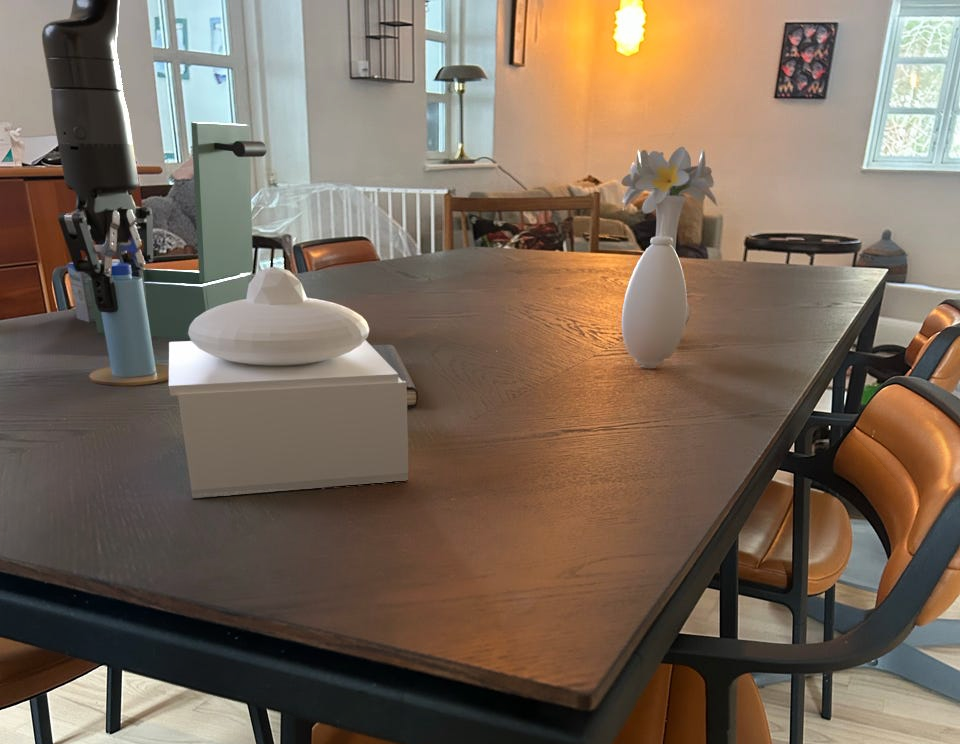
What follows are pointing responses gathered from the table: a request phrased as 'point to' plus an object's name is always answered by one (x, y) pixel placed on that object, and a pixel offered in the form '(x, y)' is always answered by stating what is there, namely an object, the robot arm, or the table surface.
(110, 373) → the coaster
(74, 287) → the medicine box
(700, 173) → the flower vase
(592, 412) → the table surface
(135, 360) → the water bottle
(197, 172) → the lid
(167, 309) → the cool box
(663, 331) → the white teardrop bottle
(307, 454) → the white knob-topped box
